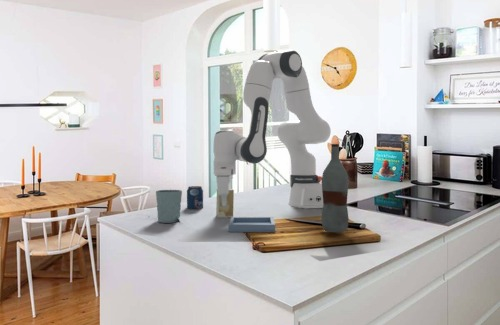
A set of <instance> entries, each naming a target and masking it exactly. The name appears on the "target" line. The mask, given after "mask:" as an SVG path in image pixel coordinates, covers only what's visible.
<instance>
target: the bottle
mask: <svg viewBox="0 0 500 325" xmlns="http://www.w3.org/2000/svg"><path fill="white" fill-rule="evenodd" d="M330 146H331V147H330V148H331V151H330V152H331V153H330V160H329V162H328V164H327V165H326V166H325V169H324V170H323V172H322V175H321V177H322V180H321V184H322V193H323V208H322V210H321V227H322V229H323V231H324V230H325V231H324V232H329V233H344V231H345V232H347V231H348V228H349V212H348V206H347V205H348V195H349V194H348V193H349V184H350V183H349V174H348V172H347V170H346V169H345V167H344V165H343V164H342V162H341V160H340V149H339V147H340V144H339V143H331V144H330Z"/></svg>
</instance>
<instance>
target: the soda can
mask: <svg viewBox="0 0 500 325" xmlns="http://www.w3.org/2000/svg"><path fill="white" fill-rule="evenodd" d="M186 209H187V210H193V211H195V210H196V211H197V210H202V209H204V190H203V187H202V186H199V185H195V186H194V185H191V186H188V187H187V190H186Z"/></svg>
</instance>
